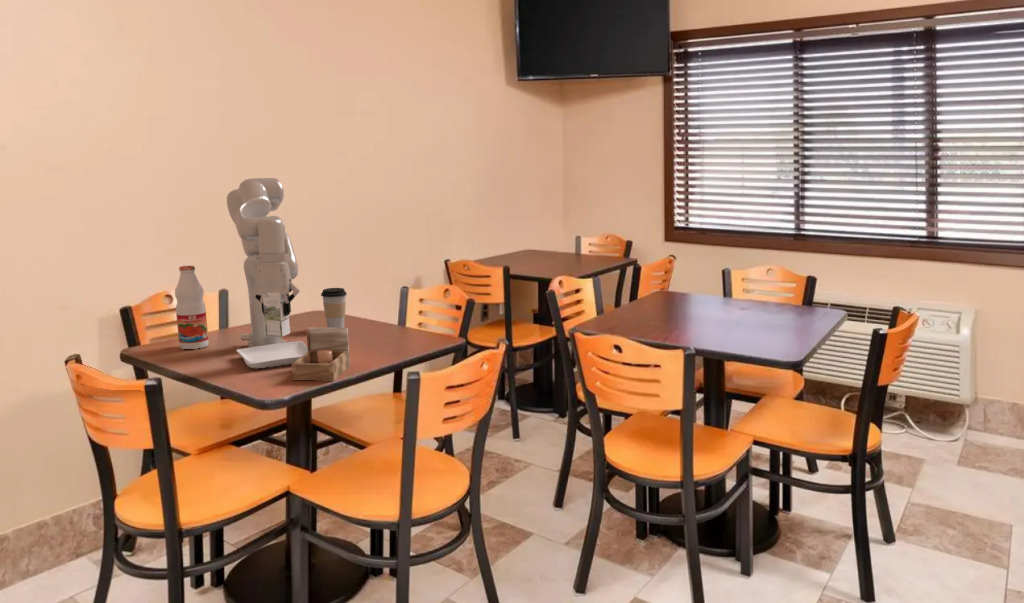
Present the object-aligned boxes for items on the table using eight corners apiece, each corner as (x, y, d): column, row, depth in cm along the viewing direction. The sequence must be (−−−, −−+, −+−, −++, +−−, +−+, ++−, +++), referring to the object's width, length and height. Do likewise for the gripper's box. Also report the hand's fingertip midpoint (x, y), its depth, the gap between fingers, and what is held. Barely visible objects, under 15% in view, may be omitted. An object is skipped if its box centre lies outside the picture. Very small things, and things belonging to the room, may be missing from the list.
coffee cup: (345, 331, 288) (343, 291, 285) (320, 331, 288) (317, 291, 285) (351, 325, 297) (348, 287, 294) (326, 326, 297) (324, 287, 294)
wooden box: (333, 381, 223) (331, 340, 221) (291, 381, 224) (288, 340, 222) (349, 365, 240) (347, 327, 238) (310, 365, 241) (307, 327, 239)
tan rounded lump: (316, 371, 233) (315, 352, 232) (321, 368, 238) (319, 349, 237) (330, 372, 233) (329, 352, 232) (335, 368, 237) (333, 349, 236)
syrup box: (290, 333, 247) (287, 288, 245) (282, 337, 241) (279, 291, 239) (274, 332, 248) (270, 287, 246) (265, 336, 242) (261, 291, 240)
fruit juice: (209, 342, 273) (202, 263, 268) (208, 348, 264) (201, 267, 259) (180, 345, 270) (172, 265, 265) (178, 351, 261) (170, 269, 256)
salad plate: (247, 373, 234) (246, 362, 233) (236, 358, 252) (235, 348, 252) (317, 364, 244) (317, 353, 243) (301, 350, 262) (301, 340, 261)
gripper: (240, 260, 237) (245, 317, 241) (295, 259, 236) (299, 317, 239) (250, 257, 245) (254, 313, 248) (303, 256, 244) (307, 312, 247)
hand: (276, 314), depth 244 cm, fingers closed on syrup box, 6 cm apart
